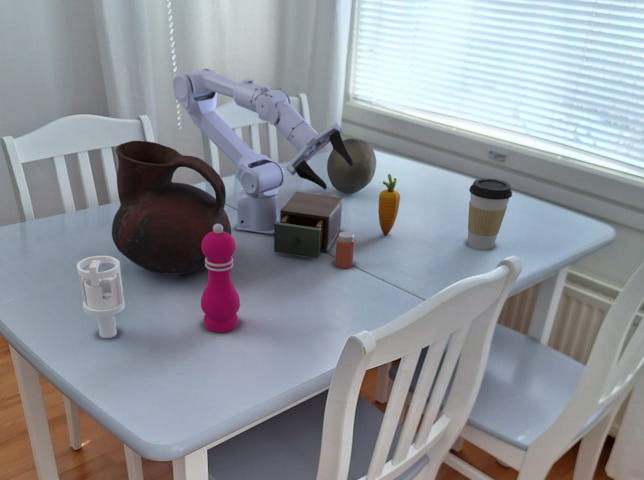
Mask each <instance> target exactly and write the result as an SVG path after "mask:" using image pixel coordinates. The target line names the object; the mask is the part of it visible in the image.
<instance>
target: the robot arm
mask: <svg viewBox="0 0 644 480" xmlns="http://www.w3.org/2000/svg"><path fill="white" fill-rule="evenodd" d="M172 79H173V80H172V89H173V95H174V99H175V100H176V101H177V102H178V103H179V104H180V105H181V106H182V107H183V108H184V109H185V110H186V112H187V114H188V116H189V117H190V120H191V121H192V122H193V123H194V125H195V126H196V127H197V128H198V129H199V130H200V131H201V132H202V133H203V134H204V135H205V136H206V137H207V138H208V139H209V140H210V141H211V142H212V144H214V145H215V146H216V147H217V148H218V149H219V150H220V152H222V154H223V155H224V156H225V157H227V159H228V160H229V161H230V162H231V163H232V164H233V165H234V166H235V167H236V170H235V171H236V173H235V178H236V179H237V181H238V182H239V183H240V185H241V187H242V190H241V191H240V192H239V194H238V197H237V205H236V209H237V211H236V212H237V215H236V216H237V227H236V230H238V231H245V232H251V233H256V234H257V233H259V234H264V235H270V236H272V235H274V224H275V223H276V222H279V223H280V220H278V193H279V192H280V188H281V187H282V185H283V184H284V182H285V178H286V177H285V175H286V174H285V171H284V169H283V166H282V165H281V164H280V162H277V161H275V160H273V159H271V158H270V157H269V156H268V155H265V154H261V153H258V152H255V151H254V150H253V149H252V148H251V147H250V146H249V145H248V144H247V143H246V142H245V141H244V140H243V139H242V138H241V137H240V136H239V135H238V134H237V133H236V131H234V130H233V129H232V127H230V126H229V124H227V123H226V122H225V120H223V119H222V118H221V116H220V115H219V114H217V113H216V112H215V109H216V108H217V103H218V94H219V95H223V96H226V97H229V98H231V99H232V98H233V100H234V103H235V104H236V105H237V106H239V107H240V108H243V109H245V110H248V111H251V112H254V113H256V114H257V117H258V119H259V120H261V121H264V122H268V123H269V124H270V125H271V126H274V127H275V128H276V129H277V130H278V132H280V134H281V135H282V136H283V137H284V138H285V139H286V140H287V141H288V142H289V144H290V145H292V147H293V148H294V149H295V150H296V151H297V152H298V153H297V154H295V156H294V157H293V158H292V160H291V161H290V162H289V163H288V164H287V165H286V166H285V167H286V170H287V171H288V173H290V175H291V176H294V175H296V174H297V176H298V177H300V178H301V179H303V180H307V181H309V182H312V183H314V184H316V185H318V186H319V187H320V188H322V189H323V190H324V191H325V190H327V188H328V186H327V183H326V182H325V181H324V179H322V178H321V177H320V176H319V175H318V174H317V173H316V172H315V171H314V170H313V168H312V167H311V166H310V165H309V164H308V162H309V161H310V160H311V159H312V158H313V157H314V156H316V154H318V153H319V152H320V151H322V149H324V148H325V147H326V146H327V145H328V144H329V143H330V145H331V146H332V150H333V149H334V150H335V151H337V152H338V153H339V154H340V155H341V156H342V157H343V158H344V159H345V161H346V162H347V163H348V164H349V165H350V166H353V165H354V163H353V160H352V159H351V157H350V156H349V154H348V152H347V150H346V148H345V146H344V143H343V138H342V136H341V134H342V133H343V129H342V127H341V125H339V123H337V122H335V123H333V124H332V125H331V126H329V127H328V128H326V129H325V130H323V131H321V132H319V133H318V132H317V131H316V130H315V129H314V128H313V126H311V124H309V122H308V121H307V120H306V119H305V118H304V117H303V116H302V114H300V113H299V112H298V111H297V109H295V107H293V106H292V104H291V103H292V102H291V98H290V96H289V94H288V93H287V92H286V90H284V89H282V88H281V87H278V88H274V89H273V90H271V89H270V88H269V86H268V85H261V84H258V83H254V80H253V79H251V78H245V79H243V80H241V81H239V82H237V81H235V80H232V79H231V78H228V77H226V76H225V75H222V74H220V73H218V72H217V71H216V70H214V69H210V68H203V69H199V70H193V71H192V70H191V71H186V72H176V74H174V76H173V78H172Z"/></svg>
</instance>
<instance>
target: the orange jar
mask: <svg viewBox="0 0 644 480" xmlns="http://www.w3.org/2000/svg"><path fill="white" fill-rule="evenodd" d="M335 243H336V244H335V255H334V256H335V258H334V265H335V267H336V268H339V269H350V268H352V267H353V265H354V255H355V254H354V253H355V243H356V240H355V239H354V234H353V233H352V232H350V231H340V232H339V234H338V236H337V237H336V242H335Z"/></svg>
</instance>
